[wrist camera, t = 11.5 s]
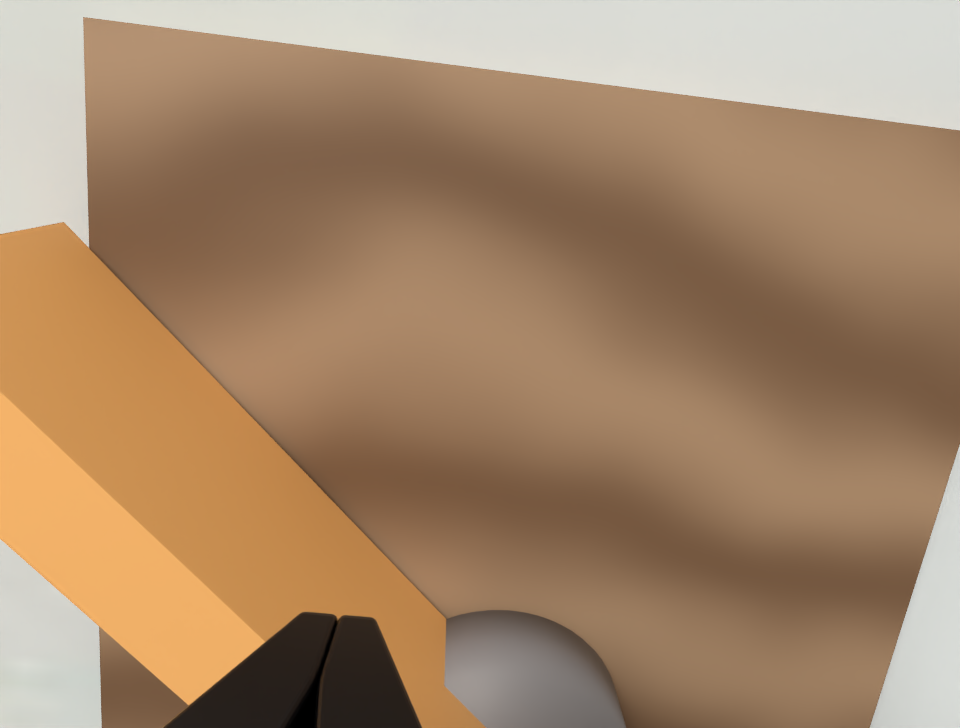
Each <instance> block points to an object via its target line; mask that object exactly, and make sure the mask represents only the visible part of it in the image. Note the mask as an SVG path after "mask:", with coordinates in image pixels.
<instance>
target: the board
mask: <svg viewBox="0 0 960 728" xmlns="http://www.w3.org/2000/svg"><path fill="white" fill-rule="evenodd" d="M83 24H84V63H85V101H86V139H87V177H88V216H89V249H90V250H91V251H92V252H93V253H94V254H95V255H96V256H97V257H98V258H99V259H100V260H101V261H102V262H103V263H104V264H105V265H106V266H107V267H108V269H109V270H110V271H111V272H112V273H113V274H114V275H115V276H116V277H117V278H118V279H119V280H120V281H121V282H122V283H123V284H124V285H125V286H126V287H127V288H128V289H129V290H130V291H131V292H132V293H133V294H134V296H135V297H136V298H137V299H138V300H139V301H140V302H141V303H142V304H143V305H144V306H145V307H146V308H147V309H148V310H149V311H150V312H151V313H152V314H153V315H154V316H155V317H156V318H157V319H158V320H159V321H160V323H161V324H162V325H163V326H164V327H165V328H166V329H167V330H168V331H169V332H170V333H171V334H172V335H173V336H174V337H175V338H176V339H177V340H178V341H179V342H180V343H181V344H182V345H183V346H184V347H185V348H186V350H187V351H188V352H189V353H190V354H191V355H192V356H193V357H194V358H195V359H196V360H197V361H198V362H199V363H200V364H201V365H202V366H203V367H204V368H205V369H206V370H207V371H208V372H209V373H210V374H211V375H212V377H213V378H214V379H215V380H216V381H217V382H218V383H219V384H220V385H221V386H222V387H223V388H224V389H225V390H226V391H227V392H228V393H229V394H230V395H231V396H232V397H233V398H234V399H235V400H236V401H237V402H238V403H239V405H240V406H241V407H242V408H243V409H244V410H245V411H246V412H247V413H248V414H249V415H250V416H251V417H252V418H253V419H254V420H255V421H256V422H257V423H258V424H259V425H260V426H261V427H262V428H263V429H264V430H265V432H266V433H267V434H268V435H269V436H270V437H271V438H272V439H273V440H274V441H275V442H276V443H277V444H278V445H279V446H280V447H281V448H282V449H283V450H284V451H285V452H286V453H287V454H288V455H289V456H290V457H291V459H292V460H293V461H294V462H295V463H296V464H297V465H298V466H299V467H300V468H301V469H302V470H303V471H304V472H305V473H306V474H307V475H308V476H309V477H310V478H311V479H312V480H313V481H314V482H315V483H316V484H317V486H318V487H319V488H320V489H321V490H322V491H323V492H324V493H325V494H326V495H327V496H328V497H329V498H330V499H331V500H332V501H333V502H334V503H335V504H336V505H337V506H338V507H339V508H340V509H341V510H342V511H343V513H344V514H345V515H346V516H347V517H348V518H349V519H350V520H351V521H352V522H353V523H354V524H355V525H356V526H357V527H358V528H359V529H360V530H361V531H362V532H363V533H364V534H365V535H366V536H367V537H368V538H369V539H370V541H371V542H372V543H373V544H374V545H375V546H376V547H377V548H378V549H379V550H380V551H381V552H382V553H383V554H384V555H385V556H386V557H387V558H388V559H389V560H390V561H391V562H392V563H393V564H394V565H395V566H396V568H397V569H398V570H399V571H400V572H401V573H402V574H403V575H404V576H405V577H406V578H407V579H408V580H409V581H410V582H411V583H412V584H413V585H414V586H415V587H416V588H417V589H418V590H419V591H420V592H421V593H422V595H423V596H424V597H425V598H426V599H427V600H428V601H429V602H430V603H431V604H432V605H433V606H434V607H435V608H436V609H437V610H438V611H439V612H440V613H441V614H442V615H443V616H444V617H445V618H446V619H448V618H451V617H454V616H457V615H461V614H466V613H470V612H475V611H486V610H511V611H518V612H525V613H529V614H533V615H537V616H541V617H544V618H546V619H549V620H551V621H554V622H557V623H558V624H560V625H562V626H564V627H566V628H568V629H570V630H571V631H573V632H574V633H575V634H577V635H578V636H579V637H581V638H582V639H583V640H584V641H585V642H587V643H588V644H589V645H590V646H591V647H592V648H593V649H594V650H595V652H596V653H597V654H598V656H599V657H600V658H601V659H602V661H603V662H604V664H605V666H606V668H607V669H608V671H609V673H610V676H611V678H612V681H613V684H614V686H615V690H616V693H617V697H618V700H619V704H620V707H621V711H622V714H623V718H624V721H625V725H626V728H870V725H871V721H872V718H873V715H874V712H875V709H876V706H877V702H878V699H879V696H880V693H881V690H882V687H883V684H884V680H885V677H886V674H887V671H888V668H889V665H890V662H891V658H892V655H893V652H894V649H895V646H896V643H897V640H898V636H899V633H900V630H901V627H902V624H903V621H904V618H905V614H906V611H907V608H908V605H909V602H910V599H911V595H912V592H913V589H914V586H915V583H916V580H917V577H918V573H919V570H920V567H921V564H922V561H923V558H924V555H925V551H926V548H927V545H928V542H929V539H930V536H931V533H932V529H933V526H934V523H935V520H936V517H937V514H938V511H939V507H940V504H941V501H942V498H943V495H944V492H945V488H946V485H947V482H948V479H949V476H950V473H951V470H952V466H953V463H954V460H955V457H956V454H957V451H958V448H959V444H960V131H959V130H951V129H943V128H935V127H928V126H920V125H912V124H904V123H897V122H889V121H881V120H874V119H866V118H858V117H850V116H843V115H835V114H827V113H819V112H812V111H804V110H796V109H789V108H781V107H773V106H765V105H758V104H750V103H742V102H734V101H727V100H719V99H711V98H704V97H696V96H688V95H680V94H673V93H665V92H657V91H649V90H642V89H634V88H626V87H619V86H611V85H603V84H595V83H588V82H580V81H572V80H564V79H557V78H549V77H541V76H534V75H526V74H518V73H510V72H503V71H495V70H487V69H479V68H472V67H464V66H456V65H449V64H441V63H433V62H425V61H418V60H410V59H402V58H394V57H387V56H379V55H371V54H364V53H356V52H348V51H340V50H333V49H325V48H317V47H309V46H302V45H294V44H286V43H279V42H271V41H263V40H255V39H248V38H240V37H232V36H224V35H217V34H209V33H201V32H194V31H186V30H178V29H170V28H163V27H155V26H147V25H139V24H132V23H124V22H116V21H109V20H101V19H93V18H85V17H83ZM99 636H100V674H101V713H102V728H162V727H163V726H164V725H166V724H167V723H168V722H169V721H171V720H172V719H173V718H174V717H175V716H177V715H178V714H179V713H180V712H181V711H183V710H184V709H185V708H186V707H187V706H189V705H188V704H186V703H185V702H184V701H183V700H182V699H181V698H180V697H179V696H177V695H176V694H175V693H174V692H173V691H172V690H171V689H170V688H168V687H167V686H166V685H165V684H164V683H163V682H162V681H160V680H159V679H158V678H157V677H156V676H155V675H154V674H153V673H151V672H150V671H149V670H148V669H147V668H146V667H145V666H144V665H142V664H141V663H140V662H139V661H138V660H137V659H136V658H134V657H133V656H132V655H131V654H130V653H129V652H128V651H127V650H125V649H124V648H123V647H122V646H121V645H120V644H119V643H118V642H116V641H115V640H114V639H113V638H112V637H111V636H110V635H108V634H107V633H106V632H105V631H104V630H103V629H102V628H101V627H99Z"/></svg>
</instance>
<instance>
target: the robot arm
mask: <svg viewBox="0 0 960 728" xmlns="http://www.w3.org/2000/svg"><path fill="white" fill-rule="evenodd" d="M162 728H422V726H421V724H420V721H419V719H418V717H417V714H416V712H415V710H414V707H413V705H412V703H411V700H410V698H409V696H408V693H407V691H406V689H405V686H404V684H403V682H402V679H401V677H400V675H399V672H398V670H397V668H396V665H395V663H394V661H393V658H392V656H391V654H390V651H389V649H388V647H387V644H386V642H385V639H384V637H383V635H382V632H381V630H380V628H379V625H378V623H377V621H376V620H375V619H374V618H372V617H363V616H351V615H343V616H341V617H340V618H339V619H337V616H335V615H334V614H328V613H316V612H302V613H300V614H299V615H297V616H296V617H295V618H294V619H292V620H291V621H290V622H289V623H288V624H286V625H285V626H284V627H283V628H282V629H280V630H279V631H278V632H277V633H276V634H274V635H273V636H272V637H271V638H269V639H268V640H267V641H266V642H265V643H263V644H262V645H261V646H260V647H259V648H257V649H256V650H255V651H254V652H253V653H251V654H250V655H249V656H248V657H247V658H245V659H244V660H243V661H242V662H241V663H239V664H238V665H237V666H236V667H234V668H233V669H232V670H231V671H230V672H228V673H227V674H226V675H225V676H224V677H222V678H221V679H220V680H219V681H218V682H216V683H215V684H214V685H213V686H212V687H210V688H209V689H208V690H207V691H206V692H204V693H203V694H202V695H201V696H199V697H198V698H197V699H196V700H195V701H193V702H192V703H191V704H190V705H189V706H187V707H186V708H185V709H184V710H183V711H181V712H180V713H179V714H178V715H177V716H175V717H174V718H173V719H172V720H171V721H169V722H168V723H167V724H166V725H164V726H163V727H162Z"/></svg>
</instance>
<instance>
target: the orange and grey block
mask: <svg viewBox="0 0 960 728" xmlns="http://www.w3.org/2000/svg"><path fill="white" fill-rule="evenodd" d="M0 539H1V540H2V541H3V542H4V543H6V544H7V545H8V546H9V547H10V548H11V549H12V550H14V551H15V552H16V553H17V554H18V555H19V556H20V557H21V558H23V559H24V560H25V561H26V562H27V563H28V564H29V565H30V566H32V567H33V568H34V569H35V570H36V571H37V572H38V573H40V574H41V575H42V576H43V577H44V578H45V579H46V580H47V581H49V582H50V583H51V584H52V585H53V586H54V587H55V588H56V589H58V590H59V591H60V592H61V593H62V594H63V595H64V596H66V597H67V598H68V599H69V600H70V601H71V602H72V603H73V604H75V605H76V606H77V607H78V608H79V609H80V610H81V611H82V612H84V613H85V614H86V615H87V616H88V617H89V618H90V619H92V620H93V621H94V622H95V623H96V624H97V625H98V626H99V627H101V628H102V629H103V630H104V631H105V632H106V633H107V634H108V635H110V636H111V637H112V638H113V639H114V640H115V641H116V642H118V643H119V644H120V645H121V646H122V647H123V648H124V649H125V650H127V651H128V652H129V653H130V654H131V655H132V656H133V657H134V658H136V659H137V660H138V661H139V662H140V663H141V664H142V665H144V666H145V667H146V668H147V669H148V670H149V671H150V672H151V673H153V674H154V675H155V676H156V677H157V678H158V679H159V680H160V681H162V682H163V683H164V684H165V685H166V686H167V687H168V688H170V689H171V690H172V691H173V692H174V693H175V694H176V695H177V696H179V697H180V698H181V699H182V700H183V701H184V702H185V703H186V704H188V705H190V704H191V703H192V702H193V701H195V700H196V699H197V698H198V697H199V696H201V695H202V694H203V693H204V692H206V691H207V690H208V689H209V688H210V687H212V686H213V685H214V684H215V683H216V682H218V681H219V680H220V679H221V678H222V677H224V676H225V675H226V674H227V673H228V672H230V671H231V670H232V669H233V668H234V667H236V666H237V665H238V664H239V663H241V662H242V661H243V660H244V659H245V658H247V657H248V656H249V655H250V654H251V653H253V652H254V651H255V650H256V649H257V648H259V647H260V646H261V645H262V644H263V643H265V642H266V641H267V640H268V639H269V638H271V637H272V636H273V635H274V634H276V633H277V632H278V631H279V630H280V629H282V628H283V627H284V626H285V625H286V624H288V623H289V622H290V621H291V620H292V619H294V618H295V617H296V616H297V615H299V614H300V613H302V612H316V613H328V614H334V615H335V616H337V619H339V618H340V617H341V616H343V615H351V616H363V617H372V618H374V619H375V620H376V621H377V623H378V625H379V628H380V630H381V632H382V635H383V637H384V639H385V642H386V644H387V647H388V649H389V651H390V654H391V656H392V658H393V661H394V663H395V665H396V668H397V670H398V672H399V675H400V677H401V679H402V682H403V684H404V686H405V689H406V691H407V693H408V696H409V698H410V700H411V703H412V705H413V707H414V710H415V712H416V714H417V717H418V719H419V721H420V724H421V726H422V728H626V725H625V721H624V718H623V714H622V711H621V707H620V704H619V700H618V697H617V693H616V690H615V686H614V684H613V681H612V678H611V676H610V673H609V671H608V669H607V668H606V666H605V664H604V662H603V661H602V659H601V658H600V657H599V656H598V654H597V653H596V652H595V650H594V649H593V648H592V647H591V646H590V645H589V644H588V643H587V642H585V641H584V640H583V639H582V638H581V637H579V636H578V635H577V634H575V633H574V632H573V631H571V630H570V629H568V628H566V627H564V626H562V625H560V624H558V623H557V622H554V621H551V620H549V619H546V618H544V617H541V616H537V615H533V614H529V613H525V612H518V611H511V610H486V611H475V612H470V613H466V614H461V615H457V616H454V617H451V618H448V619H446V618H445V617H444V616H443V615H442V614H441V613H440V612H439V611H438V610H437V609H436V608H435V607H434V606H433V605H432V604H431V603H430V602H429V601H428V600H427V599H426V598H425V597H424V596H423V595H422V593H421V592H420V591H419V590H418V589H417V588H416V587H415V586H414V585H413V584H412V583H411V582H410V581H409V580H408V579H407V578H406V577H405V576H404V575H403V574H402V573H401V572H400V571H399V570H398V569H397V568H396V566H395V565H394V564H393V563H392V562H391V561H390V560H389V559H388V558H387V557H386V556H385V555H384V554H383V553H382V552H381V551H380V550H379V549H378V548H377V547H376V546H375V545H374V544H373V543H372V542H371V541H370V539H369V538H368V537H367V536H366V535H365V534H364V533H363V532H362V531H361V530H360V529H359V528H358V527H357V526H356V525H355V524H354V523H353V522H352V521H351V520H350V519H349V518H348V517H347V516H346V515H345V514H344V513H343V511H342V510H341V509H340V508H339V507H338V506H337V505H336V504H335V503H334V502H333V501H332V500H331V499H330V498H329V497H328V496H327V495H326V494H325V493H324V492H323V491H322V490H321V489H320V488H319V487H318V486H317V484H316V483H315V482H314V481H313V480H312V479H311V478H310V477H309V476H308V475H307V474H306V473H305V472H304V471H303V470H302V469H301V468H300V467H299V466H298V465H297V464H296V463H295V462H294V461H293V460H292V459H291V457H290V456H289V455H288V454H287V453H286V452H285V451H284V450H283V449H282V448H281V447H280V446H279V445H278V444H277V443H276V442H275V441H274V440H273V439H272V438H271V437H270V436H269V435H268V434H267V433H266V432H265V430H264V429H263V428H262V427H261V426H260V425H259V424H258V423H257V422H256V421H255V420H254V419H253V418H252V417H251V416H250V415H249V414H248V413H247V412H246V411H245V410H244V409H243V408H242V407H241V406H240V405H239V403H238V402H237V401H236V400H235V399H234V398H233V397H232V396H231V395H230V394H229V393H228V392H227V391H226V390H225V389H224V388H223V387H222V386H221V385H220V384H219V383H218V382H217V381H216V380H215V379H214V378H213V377H212V375H211V374H210V373H209V372H208V371H207V370H206V369H205V368H204V367H203V366H202V365H201V364H200V363H199V362H198V361H197V360H196V359H195V358H194V357H193V356H192V355H191V354H190V353H189V352H188V351H187V350H186V348H185V347H184V346H183V345H182V344H181V343H180V342H179V341H178V340H177V339H176V338H175V337H174V336H173V335H172V334H171V333H170V332H169V331H168V330H167V329H166V328H165V327H164V326H163V325H162V324H161V323H160V321H159V320H158V319H157V318H156V317H155V316H154V315H153V314H152V313H151V312H150V311H149V310H148V309H147V308H146V307H145V306H144V305H143V304H142V303H141V302H140V301H139V300H138V299H137V298H136V297H135V296H134V294H133V293H132V292H131V291H130V290H129V289H128V288H127V287H126V286H125V285H124V284H123V283H122V282H121V281H120V280H119V279H118V278H117V277H116V276H115V275H114V274H113V273H112V272H111V271H110V270H109V269H108V267H107V266H106V265H105V264H104V263H103V262H102V261H101V260H100V259H99V258H98V257H97V256H96V255H95V254H94V253H93V252H92V251H91V250H90V249H89V248H88V247H87V246H86V245H85V244H84V243H83V242H82V241H81V239H80V238H79V237H78V236H77V235H76V234H75V233H74V232H73V231H72V230H71V229H70V228H69V227H68V226H67V225H66V224H65V223H64V222H62V223H57V224H52V225H46V226H41V227H36V228H31V229H26V230H20V231H15V232H10V233H5V234H0Z"/></svg>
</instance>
